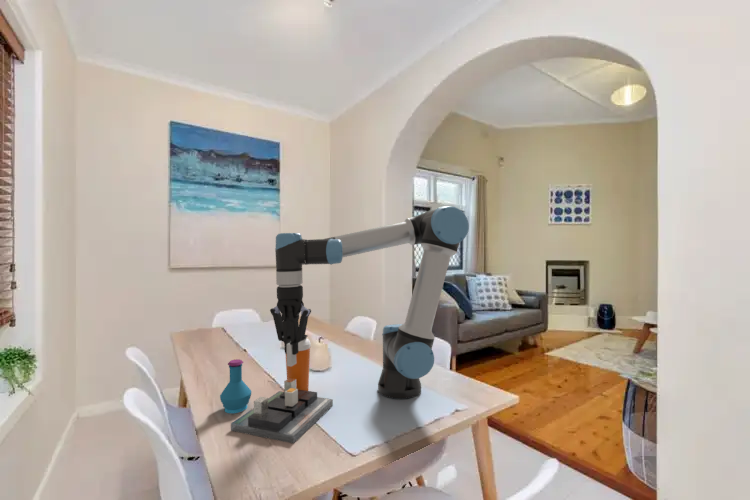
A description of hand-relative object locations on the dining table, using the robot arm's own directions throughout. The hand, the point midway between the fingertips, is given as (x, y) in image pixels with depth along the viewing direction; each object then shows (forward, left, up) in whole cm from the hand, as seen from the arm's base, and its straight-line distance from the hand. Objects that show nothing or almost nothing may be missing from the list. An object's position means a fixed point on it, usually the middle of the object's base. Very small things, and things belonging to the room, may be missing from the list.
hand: (291, 364), depth 106 cm
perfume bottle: (+20, 0, -16) cm, 26 cm away
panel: (+2, 0, -16) cm, 16 cm away
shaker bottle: (+8, -17, -16) cm, 25 cm away
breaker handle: (0, 0, -12) cm, 12 cm away
